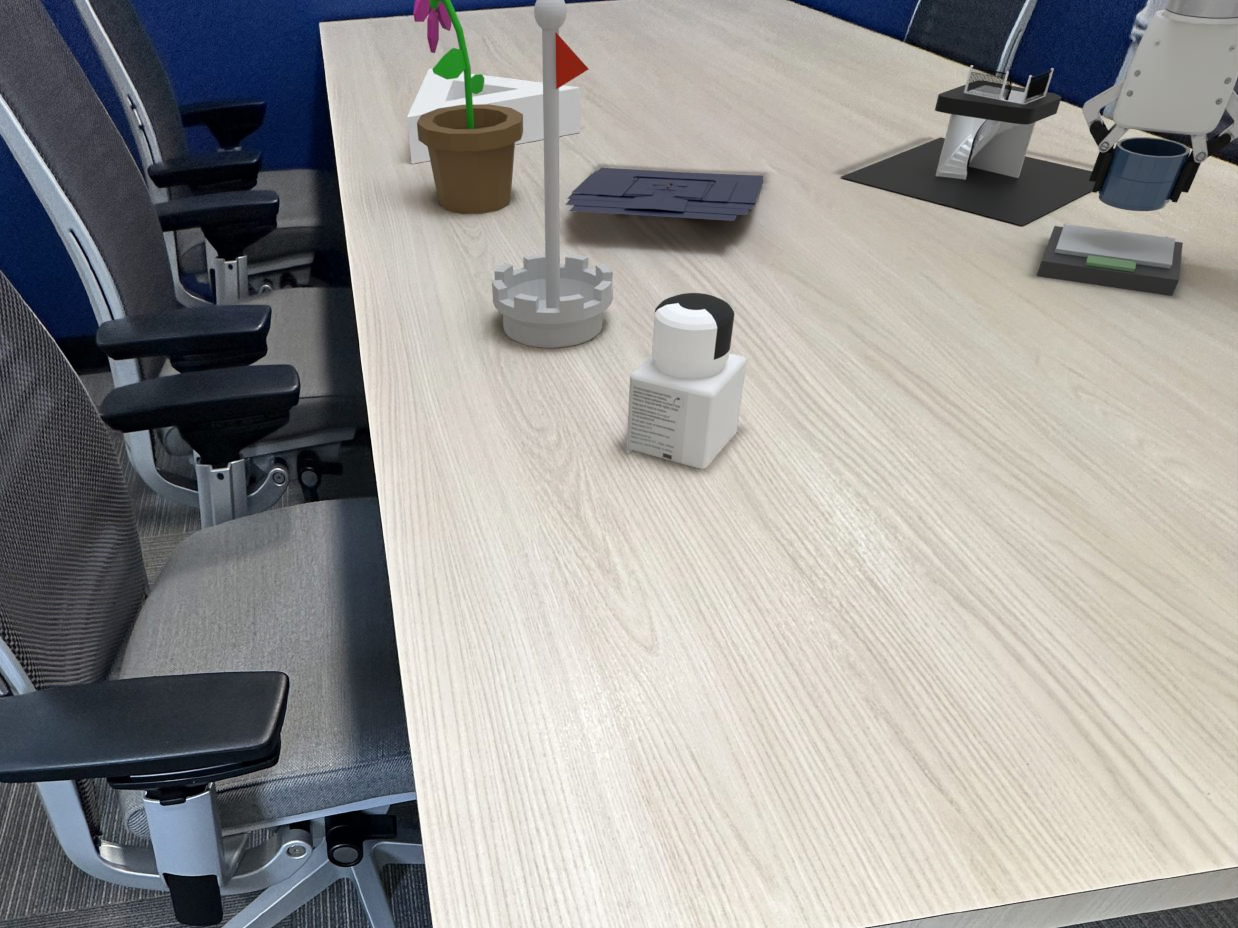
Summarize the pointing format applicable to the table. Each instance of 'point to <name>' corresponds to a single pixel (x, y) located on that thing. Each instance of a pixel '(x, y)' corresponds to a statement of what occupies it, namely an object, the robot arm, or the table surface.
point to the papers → (667, 194)
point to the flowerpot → (466, 129)
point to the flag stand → (553, 230)
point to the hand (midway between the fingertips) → (1134, 192)
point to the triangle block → (495, 92)
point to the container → (687, 383)
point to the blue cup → (1143, 173)
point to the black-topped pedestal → (985, 154)
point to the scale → (1113, 259)
